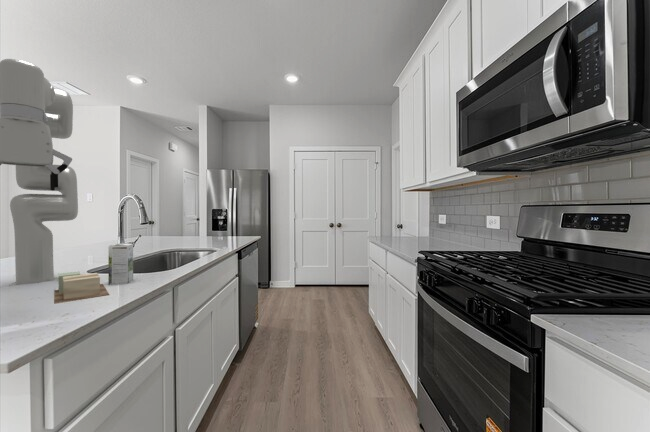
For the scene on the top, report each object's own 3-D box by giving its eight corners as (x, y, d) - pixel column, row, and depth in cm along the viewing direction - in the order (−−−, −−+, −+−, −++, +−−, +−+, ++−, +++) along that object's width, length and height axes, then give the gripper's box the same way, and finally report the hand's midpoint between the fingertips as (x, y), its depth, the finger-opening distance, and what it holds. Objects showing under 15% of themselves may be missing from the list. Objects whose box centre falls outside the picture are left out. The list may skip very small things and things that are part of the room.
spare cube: (58, 289, 93) (58, 273, 93) (79, 286, 96) (79, 271, 96) (58, 293, 89) (58, 276, 89) (80, 290, 92) (80, 273, 92)
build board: (54, 294, 93) (54, 290, 93) (102, 288, 101) (102, 283, 101) (54, 309, 79) (53, 303, 79) (109, 300, 87) (109, 294, 87)
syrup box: (114, 285, 104) (113, 243, 104) (134, 284, 106) (133, 242, 106) (108, 289, 99) (107, 245, 98) (128, 288, 101) (128, 244, 100)
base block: (63, 293, 89) (62, 276, 89) (97, 288, 94) (96, 272, 94) (63, 299, 83) (63, 281, 83) (100, 294, 88) (99, 277, 88)
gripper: (70, 126, 80) (71, 191, 80) (-31, 112, 68) (-29, 188, 68) (72, 120, 74) (73, 190, 74) (-37, 104, 62) (-35, 187, 63)
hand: (25, 189), depth 71 cm, fingers open, 9 cm apart
